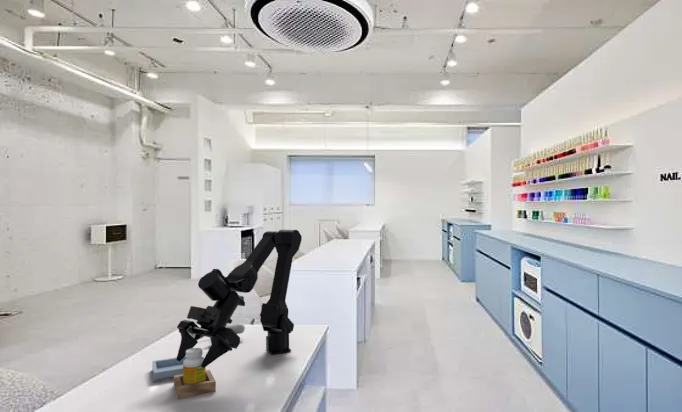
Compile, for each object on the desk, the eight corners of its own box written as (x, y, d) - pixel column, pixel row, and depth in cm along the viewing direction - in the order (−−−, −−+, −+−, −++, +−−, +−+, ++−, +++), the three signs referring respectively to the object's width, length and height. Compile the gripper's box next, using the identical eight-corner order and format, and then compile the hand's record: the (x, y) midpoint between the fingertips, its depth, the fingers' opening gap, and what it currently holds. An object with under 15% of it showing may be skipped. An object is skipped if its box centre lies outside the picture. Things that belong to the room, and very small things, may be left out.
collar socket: (209, 378, 113) (209, 369, 113) (215, 391, 105) (215, 381, 105) (173, 385, 109) (173, 375, 109) (177, 399, 101) (177, 388, 101)
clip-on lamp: (188, 350, 146) (229, 345, 139) (184, 332, 146) (224, 326, 139) (211, 337, 157) (250, 332, 150) (207, 321, 157) (245, 314, 150)
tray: (196, 362, 126) (196, 354, 126) (201, 374, 117) (201, 365, 117) (152, 369, 120) (152, 361, 120) (154, 382, 111) (154, 372, 111)
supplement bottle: (198, 393, 104) (198, 354, 104) (178, 392, 105) (178, 353, 105) (209, 385, 109) (209, 347, 110) (190, 383, 111) (190, 346, 111)
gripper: (182, 290, 116) (146, 341, 106) (231, 296, 106) (196, 353, 97) (205, 313, 122) (173, 363, 113) (253, 321, 113) (222, 376, 103)
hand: (189, 363), depth 106 cm, fingers open, 9 cm apart
